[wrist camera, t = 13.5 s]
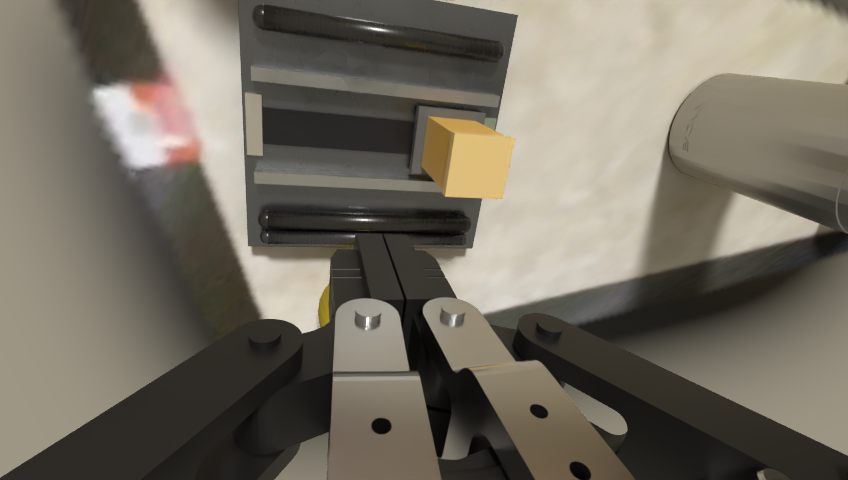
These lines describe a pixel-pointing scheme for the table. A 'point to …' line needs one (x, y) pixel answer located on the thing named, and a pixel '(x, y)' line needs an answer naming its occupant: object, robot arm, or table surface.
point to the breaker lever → (460, 152)
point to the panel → (359, 115)
